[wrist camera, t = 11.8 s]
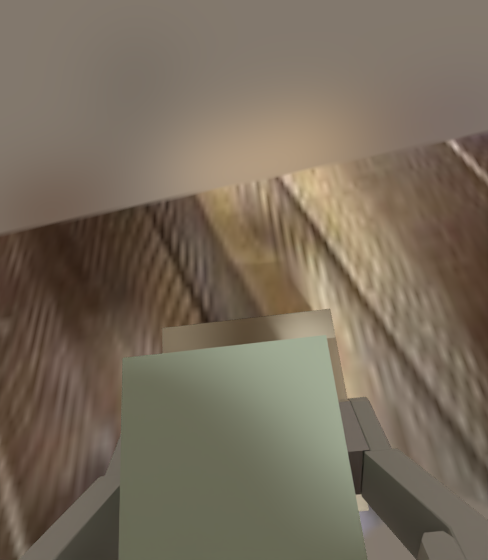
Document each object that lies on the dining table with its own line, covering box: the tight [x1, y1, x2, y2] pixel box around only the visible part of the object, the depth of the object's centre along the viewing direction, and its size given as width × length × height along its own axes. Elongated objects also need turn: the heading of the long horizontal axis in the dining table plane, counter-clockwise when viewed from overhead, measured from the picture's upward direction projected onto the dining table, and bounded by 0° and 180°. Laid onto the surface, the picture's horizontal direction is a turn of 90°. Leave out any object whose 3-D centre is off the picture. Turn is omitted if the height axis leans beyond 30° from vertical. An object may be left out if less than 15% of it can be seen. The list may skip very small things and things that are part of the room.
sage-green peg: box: [119, 335, 367, 560], centre depth 10 cm, size 4×4×10 cm
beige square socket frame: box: [162, 309, 369, 511], centre depth 17 cm, size 9×9×4 cm
